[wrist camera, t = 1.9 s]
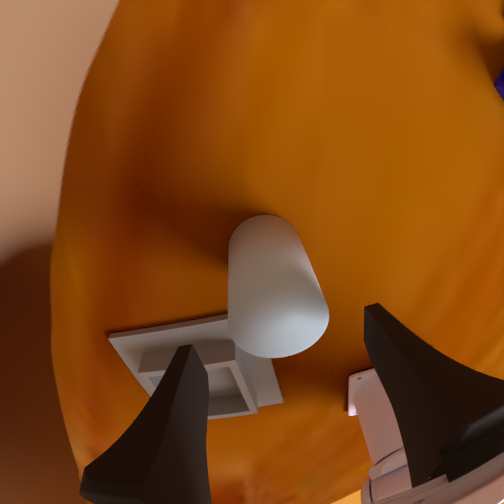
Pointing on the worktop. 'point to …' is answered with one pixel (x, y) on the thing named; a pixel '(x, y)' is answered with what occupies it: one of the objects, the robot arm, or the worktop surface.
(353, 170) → the worktop surface
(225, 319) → the grey square tray
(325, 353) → the worktop surface
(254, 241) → the cylinder
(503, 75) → the cable clip
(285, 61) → the worktop surface
